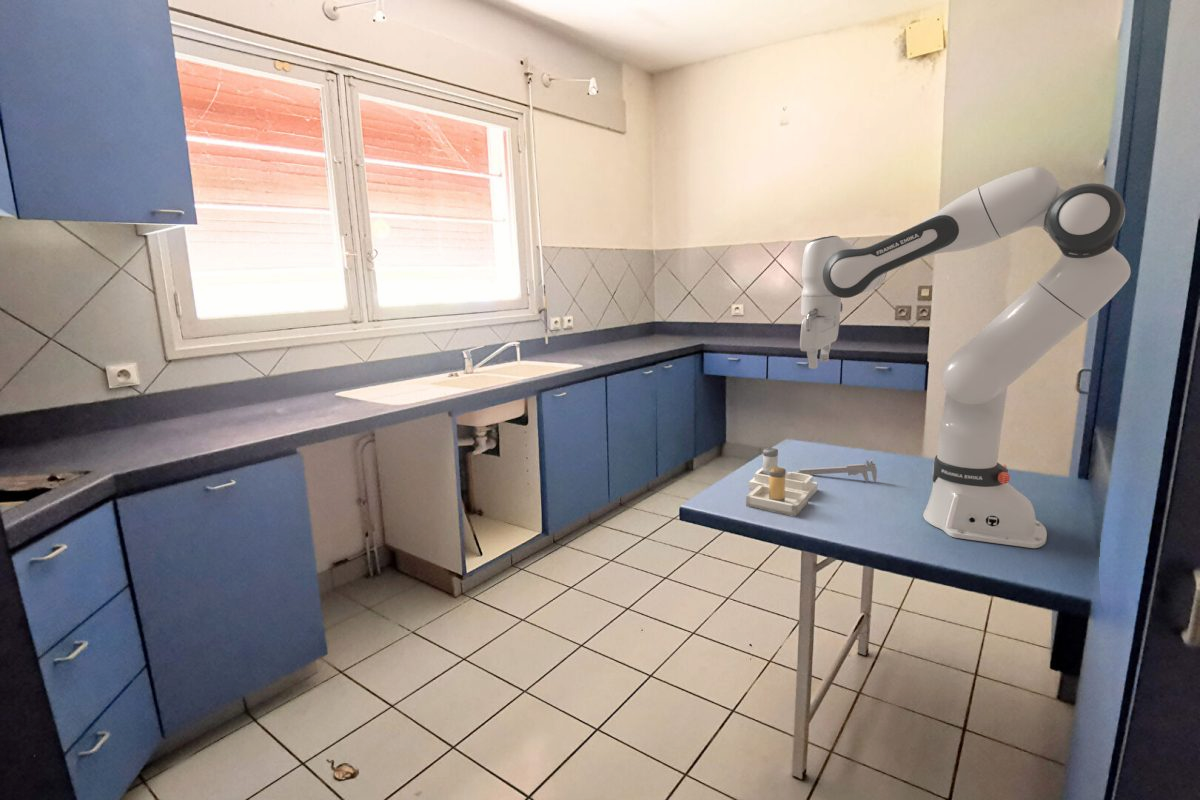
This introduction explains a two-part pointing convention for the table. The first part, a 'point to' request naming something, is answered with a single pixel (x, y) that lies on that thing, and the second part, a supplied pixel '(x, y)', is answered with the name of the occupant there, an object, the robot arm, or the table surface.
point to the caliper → (845, 470)
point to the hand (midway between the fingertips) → (818, 364)
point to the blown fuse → (777, 484)
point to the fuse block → (791, 479)
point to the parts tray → (790, 507)
